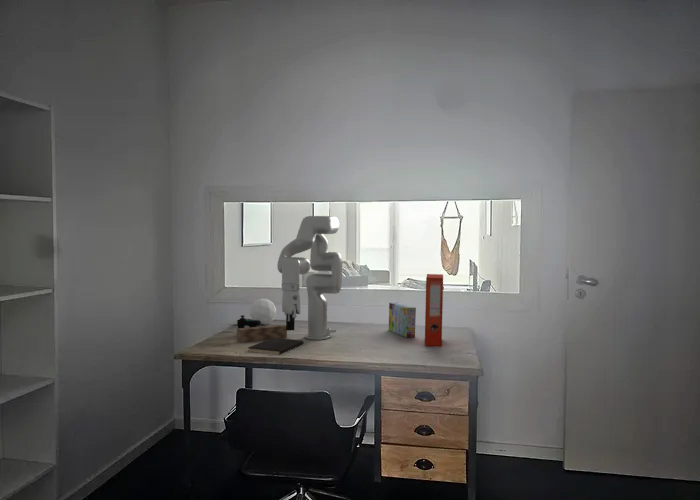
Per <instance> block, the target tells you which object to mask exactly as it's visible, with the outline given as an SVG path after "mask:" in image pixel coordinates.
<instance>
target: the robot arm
mask: <svg viewBox="0 0 700 500" xmlns="http://www.w3.org/2000/svg"><path fill="white" fill-rule="evenodd" d="M339 228H340V222H339V219H338V217H337V216H333V215H309V216H305V217H303V218H302V220H301V223H300V225H299V228H298V232H297V234H296V237H295V239H294V240H291V241H290V242H289V243H288V244H286V245H285V246H284V247H283V248H282V250H281V252H280V254H279V257H278V259H277V264H276V265H277V268H276V269H277V270H278V272H279V273H280V274H281V292H282V300H281V308H282V312H283V313H284V315H285V322H286V323H285V325H286V330H287V332H288V331H289V332H290V331H294V330H295V320H296V318H297V315H300V314H301V296H300V276H301V275H306V274H308V273H309V272H310V269H311V270H313V271H316V272H331V274H330V273H329V274H328V273H312V274H310V275H307V277H306V280H305V286H306V293H307V333H306V334H305V335H304V339H308V340H313V341H314V340H315V341H317V340H318V341H321V340H322V341H323V340H327V339H330V338H331V334H332V333H333V334H334V333H335V334H336V333H337V329H336V328H330V327H328V301H327V299H326V296H325V295H324V294H329V295H330V294H332V295H334V294H335V295H336V294H339V293H340V292H341V290H342V285H343V283H342V282H343V281H342V280H343V257H342V254H341V253H339V252H335V251H329V241H328V239H327V238H326V236H325V235H334V234H337V232H338V230H339ZM309 250H310V254H309V255H310V256H309V258H310V259H308V258H306V257H299V256H298V257H297V256H295V255H297V254H300V253H303V252H306V251H309Z"/></svg>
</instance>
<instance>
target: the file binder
mask: <svg viewBox="0 0 700 500" xmlns="http://www.w3.org/2000/svg"><path fill="white" fill-rule="evenodd" d="M425 279H426V281H425V310H424V311H425V313H424V314H425V315H424V316H425V317H424V320H425V321H424V323H425V324H424V346H425V347H435V346H437V348H439V347H440V348H441V347H443V346H442V344H443V341H442V339H443V306H444V305H443V302H444V297H443V296H444V274H441V273H440V274H439V273H438V274H435V273H427V274H426V278H425Z"/></svg>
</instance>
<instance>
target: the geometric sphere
mask: <svg viewBox="0 0 700 500" xmlns="http://www.w3.org/2000/svg"><path fill="white" fill-rule="evenodd" d="M249 316H250V318H251V320H260V322H261V324H260V325H262V324H263V326H267V325H268V324H270V323H272V322H273V320H274V319H275V318H276V316H277V307H276V306H275V303H274V302H273V301H271V300H270V299H268V298H258V299H256V300H255V301H253V302H252V304H251V305H250V307H249Z"/></svg>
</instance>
